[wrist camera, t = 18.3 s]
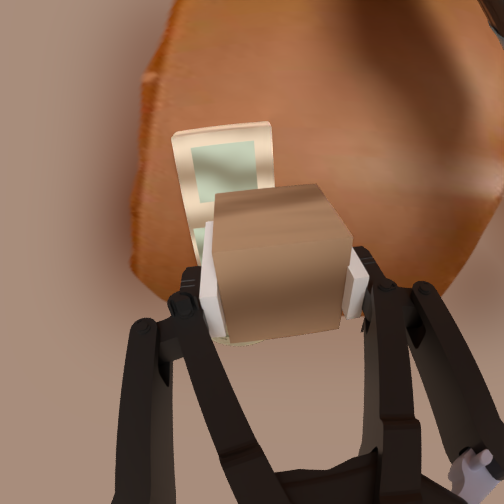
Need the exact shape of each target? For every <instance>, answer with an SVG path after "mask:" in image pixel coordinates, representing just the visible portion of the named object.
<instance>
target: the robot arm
mask: <svg viewBox="0 0 504 504" xmlns="http://www.w3.org/2000/svg"><path fill="white" fill-rule="evenodd" d="M477 1H478V2H479V4H480V6H481V8H482V10H483V12H484V13H485V15H486V17H487V19H488V23H489V25H490V28H491V29H492V31H493V32H494V33H495V34H496V36H497V38H498V39H499V41H500V44H501V46H502V48H503V50H504V0H477ZM212 237H213V221H208V222H206V226H205V236H204V246H203V257H202V266H195V267H187V268H186V270H185V271H184V272H183V274H182V279H181V288H180V291H178V292H176V293H174V294H172V295H171V296H170V297H169V299H168V301H167V305H168V308H169V310H170V313H171V316H170V317H169V318H167V319H165V320H162V321H159V322H155V321H154V320H153V319H151V318H142V319H139V320H137V321H136V322H135V323H134V324H133V325H132V327H131V329H130V334H129V340H128V346H127V353H126V359H125V366H124V373H123V381H122V389H121V398H120V408H119V418H118V431H117V446H116V469H115V495H114V497H113V500H112V503H111V504H176V489H175V475H174V453H173V417H172V416H173V414H172V413H173V410H172V386H173V385H172V384H173V381H172V380H173V361H174V360H177V359H179V358H182V357H184V360H185V363H186V366H187V369H188V372H189V375H190V379H191V382H192V385H193V388H194V391H195V394H196V396H197V399H198V402H199V405H200V407H201V411H202V413H203V416H204V419H205V422H206V424H207V427H208V430H209V432H210V435H211V437H212V440H213V442H214V445H215V447H216V450H217V453H218V455H219V460H220V463H221V466H222V468H223V470H224V473H225V476H226V478H227V480H228V482H229V484H230V487H231V489H232V491H233V494H234V496H235V498H236V500H237V502H238V504H479V503H480V502H481V501H482V500H483V499H484V498H485V497H486V496H487V495H488V494H489V493H490V492H491V491H492V490H493V489H494V488H495V486H496V485H497V484H498V483H499V482H500V481H502V480H504V423H503V422H502V421H501V419H500V418H499V415H498V412H497V410H496V407H495V404H494V402H493V400H492V397H491V395H490V392H489V390H488V388H487V385H486V383H485V381H484V379H483V376H482V374H481V372H480V370H479V368H478V366H477V364H476V361H475V359H474V358H473V356H472V353H471V351H470V349H469V347H468V345H467V343H466V341H465V340H464V338H463V336H462V334H461V332H460V330H459V328H458V327H457V325H456V323H455V321H454V319H453V318H452V316H451V314H450V313H449V311H448V309H447V307H446V305H445V304H444V302H443V300H442V299H441V297H440V295H439V294H438V292H437V290H436V289H435V287H434V286H433V285H432V284H430V283H428V282H425V281H418V282H416V283H415V284H413V287H412V288H402V287H398V286H397V284H396V283H395V282H394V281H392V280H390V279H387V278H385V276H384V274H383V273H382V271H381V269H380V268H379V266H378V265H377V263H376V261H375V260H374V258H373V257H372V255H371V254H370V252H369V251H368V250H367V249H365V248H364V247H363V246H359V247H352V250H351V258H350V265H349V266H348V268H347V276H346V283H345V289H344V296H343V302H342V310H343V312H344V315H345V317H346V319H353V318H358V317H360V316H361V312H362V310H363V312H364V315H365V318H364V322H363V325H362V329H361V332H363V330H364V360H365V381H364V382H365V383H364V417H363V435H362V444H361V447H360V450H359V455H358V457H354V458H351V459H349V460H347V461H345V462H344V463H342V464H339V465H338V466H335V467H334V468H331V469H329V470H305V469H297V470H290V471H284V472H275V473H274V471H273V470H272V468H271V466H270V464H269V462H268V460H267V458H266V456H265V454H264V452H263V450H262V448H261V447H260V445H259V444H258V442H257V440H256V438H255V436H254V434H253V432H252V430H251V428H250V426H249V424H248V421H247V419H246V417H245V415H244V413H243V411H242V409H241V406H240V404H239V402H238V400H237V397H236V395H235V393H234V391H233V389H232V386H231V384H230V382H229V379H228V377H227V375H226V372H225V370H224V368H223V365H222V363H221V361H220V358H219V356H218V354H217V351H216V349H215V346H214V344H213V341H212V339H211V338H214V337H225V336H226V321H225V316H224V312H223V307H222V302H221V297H220V292H219V287H218V283H217V278H216V272H215V267H214V262H213V257H212ZM408 346H409V348H410V351H411V353H412V356H413V358H414V361H415V363H416V366H417V368H418V371H419V374H420V377H421V379H422V382H423V384H424V387H425V390H426V393H427V396H428V399H429V402H430V405H431V408H432V411H433V414H434V416H435V420H436V423H437V426H438V429H439V433H440V436H441V439H442V443H443V445H444V448H445V451H446V454H447V456H448V458H449V460H450V462H451V463H452V466H451V468H450V472H449V473H448V479H449V480H450V481H452V491H449V490H447V489H446V488H444V487H442V486H441V485H439V484H437V483H435V482H434V481H432V480H431V479H429V478H428V477H426V476H424V475H422V474H421V425H420V422H419V420H417V419H416V418H415V416H414V402H413V389H412V377H411V367H410V358H409V350H408Z"/></svg>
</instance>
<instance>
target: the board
mask: <svg viewBox="0 0 504 504" xmlns="http://www.w3.org/2000/svg"><path fill="white" fill-rule="evenodd" d="M171 140H172V146H173V151H174V157H175V162H176V167H177V172H178V177H179V183H180V187H181V192H182V197H183V202H184V207H185V211H186V216H187V221H188V225H189V230H190V234H191V238H192V243H193V247H194V251H195V256H196V260H197V264H198V266H202V254H203V246H204V236H205V226H206V222H208V221H213V219H214V203H215V194H217V193H225V192H233V191H242V190H252V189H261V188H272V187H275V184H274V164H273V147H272V130H271V125H270V123H269V122H268V121H263V122H251V123H240V124H230V125H221V126H213V127H205V128H198V129H191V130H185V131H179V132H175V134H174V135H173V136H172V138H171Z"/></svg>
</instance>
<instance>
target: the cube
mask: <svg viewBox="0 0 504 504" xmlns="http://www.w3.org/2000/svg"><path fill="white" fill-rule="evenodd" d="M352 243H353V236H352V234H351V233H350V231H349V230H348V228H347V227H346V225H345V224H344V222H343V221H342V219H341V218H340V216H339V215H338V213H337V212H336V211H335V209H334V208H333V206H332V205H331V203H330V202H329V201H328V199H327V198H326V196H325V195H324V193H323V192H322V191H321V189H320V188H319V187H318V185H317V184H306V185H294V186H282V187H272V188H261V189H252V190H242V191H233V192H225V193H217V194H215V203H214V219H213V237H212V257H213V262H214V267H215V272H216V278H217V283H218V287H219V292H220V297H221V302H222V307H223V312H224V316H225V321H226V326H227V330H228V335H229V339H230V344H231V343H241V342H250V341H259V340H267V339H275V338H283V337H290V336H296V335H304V334H310V333H317V332H323V331H329V330H334V329H339V325H340V320H341V314H342V302H343V296H344V289H345V283H346V276H347V268H348V266H349V265H350V258H351V250H352Z"/></svg>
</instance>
